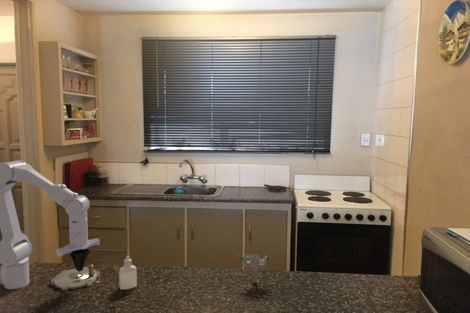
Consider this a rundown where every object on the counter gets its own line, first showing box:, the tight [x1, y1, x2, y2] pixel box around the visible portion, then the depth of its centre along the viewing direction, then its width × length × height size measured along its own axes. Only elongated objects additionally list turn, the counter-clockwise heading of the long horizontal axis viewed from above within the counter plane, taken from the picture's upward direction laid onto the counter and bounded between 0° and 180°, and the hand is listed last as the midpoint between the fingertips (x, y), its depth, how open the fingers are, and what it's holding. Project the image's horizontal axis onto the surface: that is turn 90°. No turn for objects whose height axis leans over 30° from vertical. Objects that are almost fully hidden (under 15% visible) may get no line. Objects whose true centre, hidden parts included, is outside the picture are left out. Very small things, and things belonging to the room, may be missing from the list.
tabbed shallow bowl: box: [51, 264, 101, 291], centre depth 123 cm, size 14×16×6 cm
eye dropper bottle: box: [118, 255, 138, 290], centre depth 119 cm, size 4×6×12 cm
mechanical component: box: [240, 253, 270, 284], centre depth 126 cm, size 3×10×10 cm, turn 89°
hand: (79, 270), depth 119 cm, fingers closed
